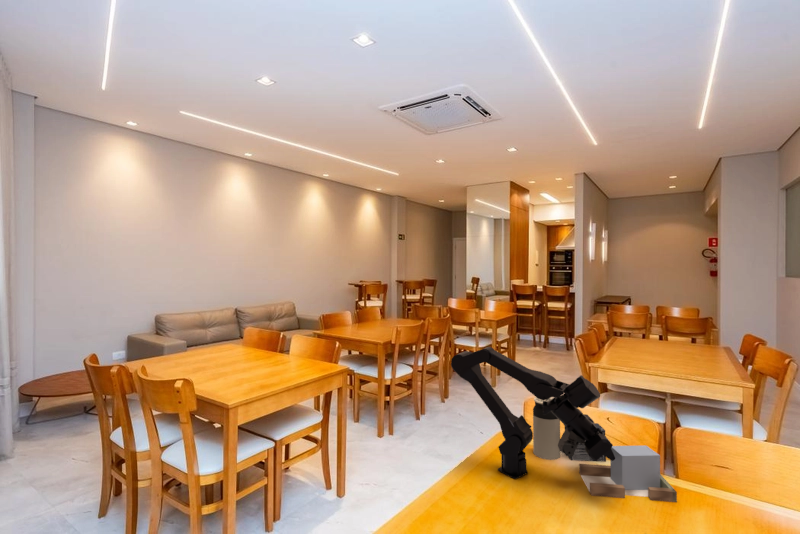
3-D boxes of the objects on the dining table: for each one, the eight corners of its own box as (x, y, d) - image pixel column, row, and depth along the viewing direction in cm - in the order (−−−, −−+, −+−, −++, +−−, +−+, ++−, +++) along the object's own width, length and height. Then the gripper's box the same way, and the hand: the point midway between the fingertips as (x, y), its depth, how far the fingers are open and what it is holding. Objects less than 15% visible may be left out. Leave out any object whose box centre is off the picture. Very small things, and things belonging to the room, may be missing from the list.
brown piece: (597, 510, 102) (597, 496, 102) (574, 467, 123) (574, 455, 123) (687, 518, 98) (687, 503, 98) (647, 472, 120) (647, 460, 120)
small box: (598, 455, 131) (598, 422, 131) (606, 465, 125) (606, 430, 125) (564, 454, 132) (563, 421, 132) (570, 463, 126) (570, 429, 126)
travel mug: (557, 465, 125) (556, 405, 125) (530, 458, 129) (529, 401, 129) (562, 455, 132) (562, 398, 132) (537, 449, 136) (536, 394, 136)
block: (622, 490, 109) (622, 455, 109) (610, 478, 115) (610, 446, 115) (660, 489, 109) (659, 455, 109) (646, 477, 115) (646, 445, 115)
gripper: (542, 422, 123) (581, 462, 122) (555, 450, 105) (602, 497, 103) (570, 397, 122) (610, 437, 120) (588, 420, 104) (636, 468, 102)
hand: (613, 459), depth 111 cm, fingers closed
